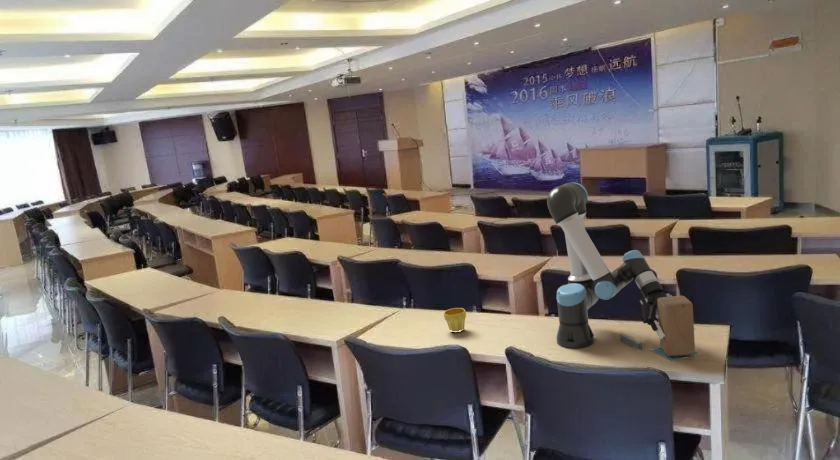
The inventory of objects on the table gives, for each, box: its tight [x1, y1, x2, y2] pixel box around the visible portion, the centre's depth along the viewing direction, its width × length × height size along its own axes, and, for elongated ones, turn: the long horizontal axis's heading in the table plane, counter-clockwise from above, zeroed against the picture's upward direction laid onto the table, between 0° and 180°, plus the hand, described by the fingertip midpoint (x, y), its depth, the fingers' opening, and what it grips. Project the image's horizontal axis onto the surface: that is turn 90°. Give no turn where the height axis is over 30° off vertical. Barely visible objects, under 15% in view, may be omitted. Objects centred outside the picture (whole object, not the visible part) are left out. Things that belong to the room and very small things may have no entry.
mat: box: [650, 347, 700, 362], centre depth 208 cm, size 12×12×1 cm
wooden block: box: [657, 295, 696, 356], centre depth 205 cm, size 10×10×20 cm
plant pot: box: [443, 307, 467, 331], centre depth 261 cm, size 10×10×10 cm
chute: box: [619, 333, 643, 351], centre depth 222 cm, size 12×19×2 cm, turn 104°
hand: (677, 334), depth 204 cm, fingers closed on wooden block, 12 cm apart
